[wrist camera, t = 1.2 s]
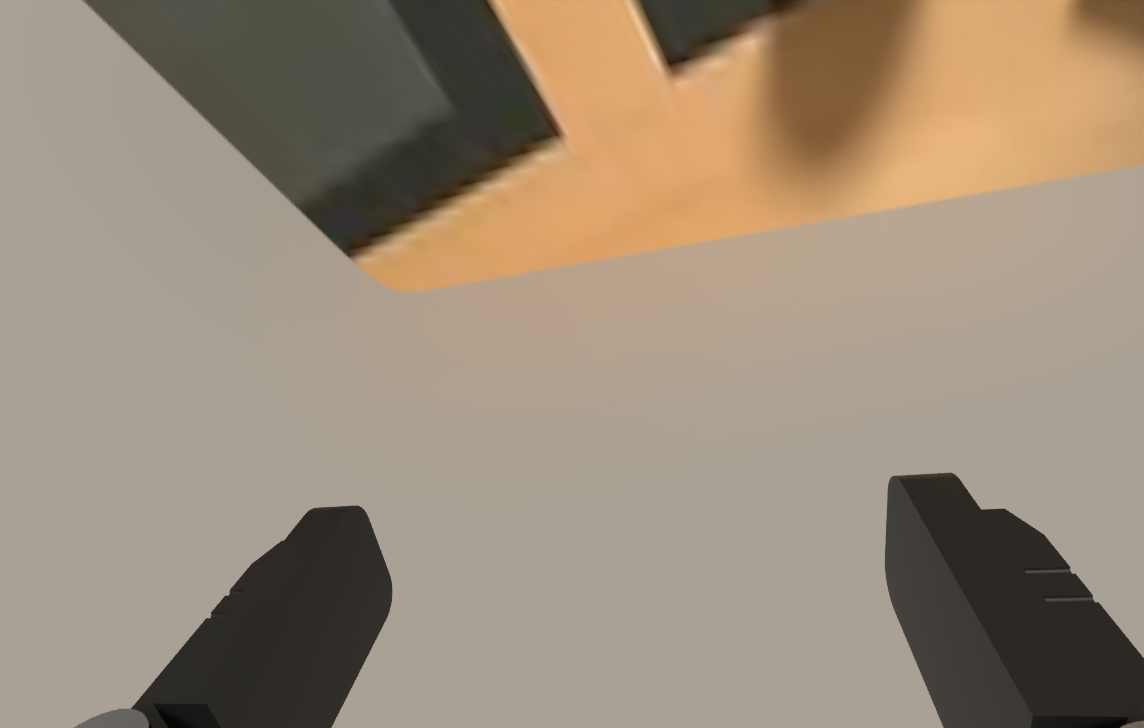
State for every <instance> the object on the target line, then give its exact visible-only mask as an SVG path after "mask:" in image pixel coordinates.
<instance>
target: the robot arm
mask: <svg viewBox="0 0 1144 728" xmlns="http://www.w3.org/2000/svg"><path fill="white" fill-rule="evenodd" d="M885 572H886V580H887V586H888V590H889V595H890V598H891V602H892V605H893V608H894V610H895V613H896V615H897V618H898V620H899V622H900V625H901V627H902V629H903V632H904V634H905V636H906V639H907V641H908V644H909V646H910V648H911V651H912V653H913V656H914V658H915V660H916V663H917V665H918V668H919V670H920V672H921V675H922V677H923V679H924V682H925V684H926V687H927V689H928V691H929V694H930V696H931V699H932V701H933V703H934V706H935V708H936V710H937V713H938V715H939V718H940V720H941V722H942V725H943V727H944V728H1144V658H1143V657H1142V656H1141V654H1140V653H1139V652H1138V651H1137V649H1136V648H1135V647H1134V646H1133V645H1132V643H1131V642H1130V641H1129V639H1128V638H1127V637H1126V636H1125V635H1124V633H1123V632H1122V631H1121V630H1120V628H1119V627H1118V626H1117V625H1116V623H1115V622H1114V621H1113V620H1112V618H1111V617H1110V616H1109V615H1108V614H1107V612H1106V611H1105V610H1104V609H1103V607H1102V606H1101V605H1100V604H1099V603H1098V602H1097V603H1095V602H1094V600H1093V595H1092V594H1091V592H1090V591H1089V590H1088V589H1087V587H1086V586H1085V585H1084V584H1083V583H1082V581H1081V580H1080V579H1079V578H1078V576H1077V575H1076V574H1072V573H1071V571H1070V566H1069V565H1068V564H1067V563H1066V561H1065V560H1064V559H1063V558H1062V556H1061V555H1060V554H1059V553H1058V551H1057V550H1056V549H1055V548H1054V546H1053V545H1052V544H1051V543H1050V542H1049V540H1048V539H1047V538H1046V537H1045V535H1044V534H1042V533H1040V532H1039V531H1038V530H1036V529H1035V528H1033V527H1031V526H1030V525H1028V524H1027V523H1026V522H1024V521H1022V520H1021V519H1019V518H1018V517H1016V516H1015V515H1013V514H1012V513H1010V512H1009V511H1007V510H1006V509H987V510H981V509H980V507H979V506H978V505H977V503H976V502H975V500H974V499H973V498H972V496H971V495H970V493H969V492H968V491H967V489H966V488H965V487H964V485H963V484H962V482H961V481H960V479H959V478H958V477H957V476H956V475H955V474H953V473H938V474H920V475H905V476H893V477H891V479H890V481H889V485H888V500H887V522H886V546H885ZM391 602H392V582H391V577H390V574H389V571H388V569H387V566H386V563H385V561H384V558H383V555H382V553H381V550H380V547H379V544H378V542H377V539H376V536H375V534H374V531H373V528H372V526H371V523H370V521H369V518H368V515H367V513H366V512H365V510H364V509H363V508H361V507H360V506H340V507H323V508H314V509H311V510H309V511H308V512H307V513H306V514H305V515H304V516H303V518H302V519H301V520H300V522H299V523H298V524H297V525H296V526H295V528H294V529H293V530H292V531H291V533H290V534H289V535H288V536H287V538H286V539H285V540H284V541H281V542H280V543H278V544H277V545H276V546H274V547H273V548H272V549H271V550H269V551H268V552H267V553H265V554H264V555H263V556H261V557H260V558H259V559H258V560H256V561H255V562H254V563H252V564H251V566H250V567H249V568H248V569H247V570H246V571H245V573H244V574H243V575H242V576H241V577H240V579H239V580H238V581H237V582H236V584H235V585H234V586H233V587H232V588H231V590H230V594H229V596H225V597H224V598H223V599H222V600H221V602H220V603H219V604H218V605H217V606H216V607H215V609H214V610H213V611H212V612H211V618H207V619H205V621H204V622H203V623H202V624H201V625H200V627H199V628H198V629H197V630H196V631H195V633H194V634H193V635H192V636H191V637H190V639H189V640H188V641H187V642H186V643H185V645H184V646H183V647H182V648H181V649H180V651H179V652H178V653H177V654H176V655H175V657H174V658H173V659H172V660H171V661H170V663H169V664H168V665H167V666H166V667H165V669H164V670H163V671H162V672H161V673H160V675H159V676H158V677H157V678H156V679H155V681H154V682H153V683H152V684H151V685H150V687H149V688H148V689H147V690H146V691H145V693H144V694H143V695H142V696H141V698H140V699H139V700H138V701H137V702H136V703H135V705H134V706H133V707H132V708H131V709H118V710H113V711H110V712H107V713H103V714H100V715H98V716H95V717H93V718H91V719H89V720H87V721H85V722H83V723H81V724H79V725H77V726H76V727H74V728H331V727H332V725H333V723H334V721H335V719H336V717H337V715H338V713H339V711H340V709H341V707H342V706H343V704H344V702H345V700H346V698H347V696H348V694H349V691H350V690H351V688H352V686H353V684H354V682H355V680H356V678H357V676H358V674H359V672H360V670H361V668H362V666H363V664H364V662H365V660H366V658H367V656H368V654H369V652H370V650H371V648H372V646H373V644H374V642H375V640H376V638H377V636H378V634H379V632H380V631H381V629H382V627H383V624H384V622H385V621H386V618H387V616H388V614H389V611H390V607H391Z"/></svg>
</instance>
